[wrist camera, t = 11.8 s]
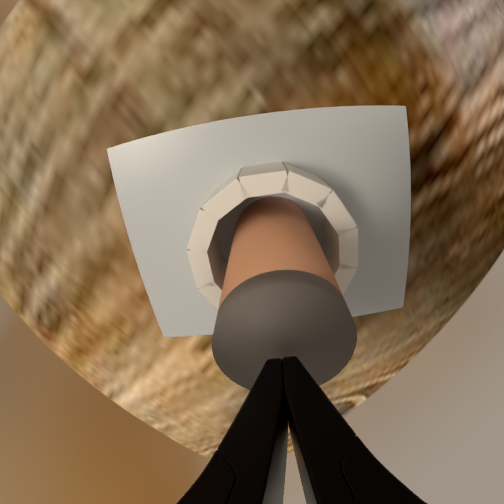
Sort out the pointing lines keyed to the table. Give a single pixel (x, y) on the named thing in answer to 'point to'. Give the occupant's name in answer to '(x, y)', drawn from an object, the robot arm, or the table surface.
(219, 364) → the plug
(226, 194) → the plate with ring collar
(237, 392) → the table surface
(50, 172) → the table surface
